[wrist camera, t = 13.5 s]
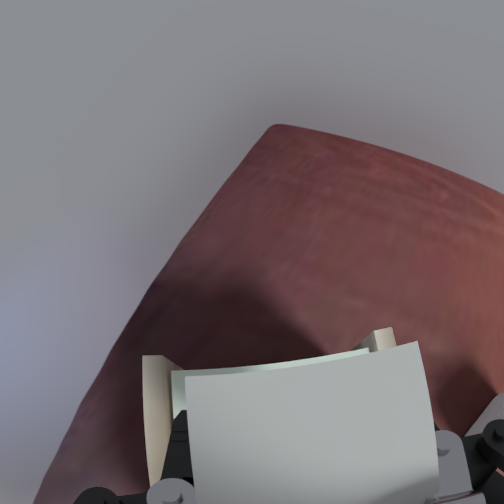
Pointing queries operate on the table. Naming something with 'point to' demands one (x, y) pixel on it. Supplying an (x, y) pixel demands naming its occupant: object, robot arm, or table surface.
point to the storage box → (161, 404)
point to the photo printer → (488, 415)
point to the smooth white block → (315, 433)
